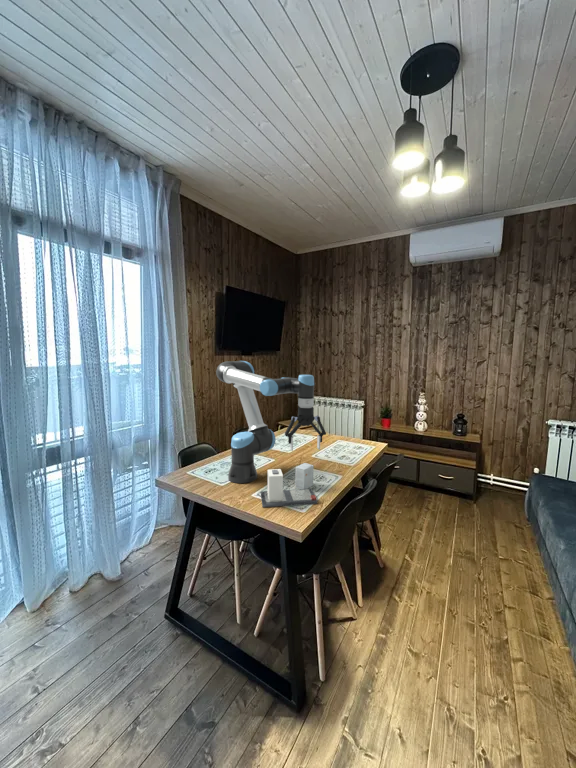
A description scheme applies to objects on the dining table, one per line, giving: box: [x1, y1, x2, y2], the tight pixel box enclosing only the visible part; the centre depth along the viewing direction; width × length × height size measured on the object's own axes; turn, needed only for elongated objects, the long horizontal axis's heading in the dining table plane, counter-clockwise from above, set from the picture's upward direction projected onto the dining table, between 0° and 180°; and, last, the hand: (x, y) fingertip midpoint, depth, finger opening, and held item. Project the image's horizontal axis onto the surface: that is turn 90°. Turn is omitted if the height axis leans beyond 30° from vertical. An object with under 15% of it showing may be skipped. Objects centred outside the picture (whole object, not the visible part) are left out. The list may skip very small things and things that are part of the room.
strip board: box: [260, 488, 318, 508], centre depth 139 cm, size 24×12×2 cm, turn 99°
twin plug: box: [267, 468, 284, 501], centre depth 137 cm, size 6×8×12 cm
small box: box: [294, 462, 314, 489], centre depth 152 cm, size 8×6×10 cm
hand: (305, 449), depth 151 cm, fingers open, 13 cm apart
